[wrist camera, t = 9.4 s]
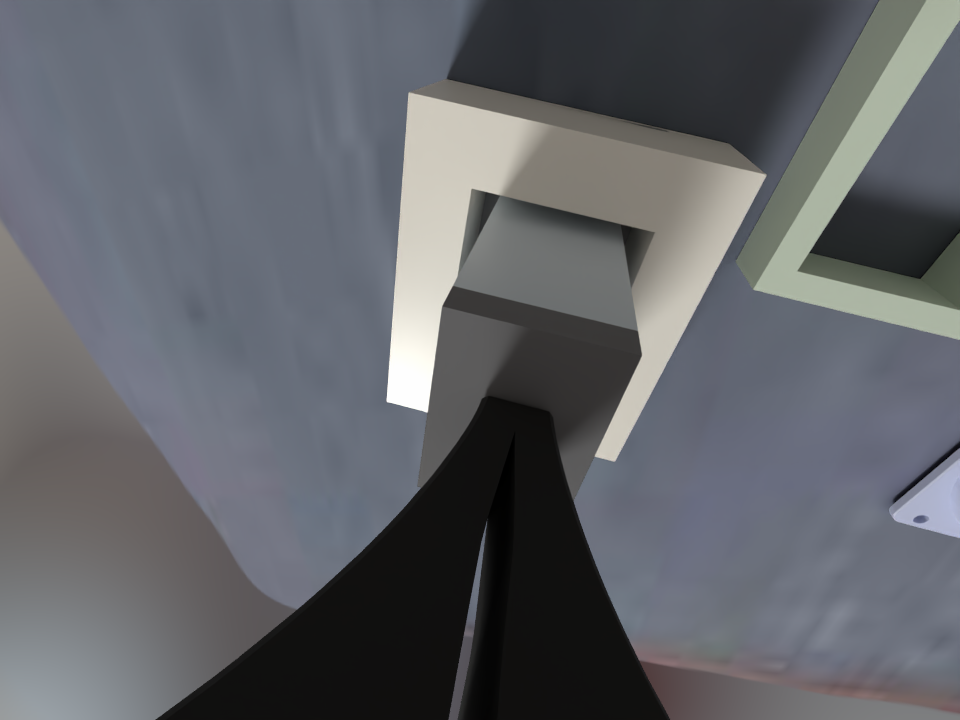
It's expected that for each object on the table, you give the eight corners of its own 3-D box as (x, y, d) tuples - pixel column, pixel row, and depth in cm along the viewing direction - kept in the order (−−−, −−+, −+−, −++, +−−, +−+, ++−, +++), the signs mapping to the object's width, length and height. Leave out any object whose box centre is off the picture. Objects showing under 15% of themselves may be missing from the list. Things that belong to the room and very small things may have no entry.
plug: (618, 208, 14) (642, 355, 8) (571, 340, 17) (561, 525, 11) (507, 182, 14) (442, 306, 8) (480, 318, 17) (417, 486, 11)
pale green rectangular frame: (1187, 11, 10) (1299, 8, 9) (927, 307, 15) (969, 342, 13) (904, -46, 10) (962, -61, 9) (735, 261, 15) (753, 289, 13)
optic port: (728, 143, 13) (770, 178, 10) (610, 397, 19) (615, 467, 16) (446, 78, 14) (405, 93, 11) (415, 347, 19) (384, 405, 16)
